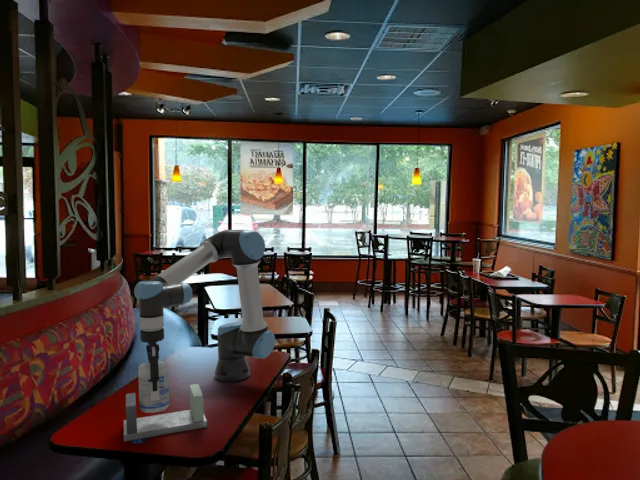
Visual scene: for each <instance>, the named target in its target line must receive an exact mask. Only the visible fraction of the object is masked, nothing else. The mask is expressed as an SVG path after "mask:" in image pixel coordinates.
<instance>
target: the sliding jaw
mask: <svg viewBox="0 0 640 480" xmlns="http://www.w3.org/2000/svg"><path fill="white" fill-rule="evenodd" d="M189 401H190V402H189V404H190V405H189V406H190V409H189V410H191V412H192V415H193V419H194V422H199V421H204V415H205V412H204V395H203V392H202V390H201V387H200V385H199V383H194V384H189Z"/></svg>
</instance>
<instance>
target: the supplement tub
mask: <svg viewBox="0 0 640 480" xmlns="http://www.w3.org/2000/svg"><path fill="white" fill-rule="evenodd" d="M158 369H159V395H160V400H155V401H151V392H150V382H148V380H150V379H151V377H150V362H149V361H148V362H143V363H141V364H139V365H138V373H137V374H138V399H139V400H138V401H139V402H138V405H139V410H140V411H141V412H142V413H146V414H155V413H159V412H162V411H165V410H166V409H167V408H168V407H169V406H170V385H169V384H170V382H169V381H170V380H169V366H168V362H166V361H162V360H160V361H159V360H158Z"/></svg>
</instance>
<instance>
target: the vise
mask: <svg viewBox="0 0 640 480" xmlns="http://www.w3.org/2000/svg"><path fill="white" fill-rule="evenodd" d="M136 396H137V395H136V392H131V393H126V394H125V415H126V417H125V419H123V442H129V441H135V440H140V439H145V438H150V437H156V436H163V435H164V436H165V435H168V434H169V435H170V434H174V433H179V432H180V433H181V432H185V431H190V430H191V431H193V430H196V429H197V430H198V429H203V428H207V427H208V420H207V418H206V415H205V414H204V421H199V422H194V419H193V415H192V412H191V409H187V410H180V411H173V412H167V413H162V414H154V415H149V416H148V415H147V416H143V417H137V402H136V401H137V399H136Z"/></svg>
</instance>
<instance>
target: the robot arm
mask: <svg viewBox="0 0 640 480" xmlns="http://www.w3.org/2000/svg"><path fill="white" fill-rule="evenodd" d="M265 251H266V241H265V240H264V238H263V236H262V234H260V232H258V231H256V230H252V229H251V230H250V229H226V230H225V229H224V230H221V231H218V232H216V233H215V234H212V235H211V236H209V237H208V238H206V239H205V240H203V241H201V242H200V244H199V246H198V247H197V248H195V249H194V250H193V251H191V252H190V253H188V254H187V255H185V256H184V257H182V258H180V260H178V261H177V262H175V263H173V264H172V265H171V266H169V267H168V268H166V269H165V270H162V271H161V272H160V273H159V274H156V276H154V277H153V278H151V279H150V280H141V281H139V282H137V284H136V285H135V287H134V289H133V290H134V291H133V293H134V296H135V298H136V299H137V300H138V308H139V309H138V310H139V311H138V312H139V319H137V323H139V329H141V330H140V331H139V337H140V342H142V343H147V345H145V346H146V348H145V350H146V355H147V360H148V362H150V377H151V379H150V380H148V382H150V392H151V401H155V400H160V395H159V369H158V361H159V360H160V352H159V351H160V345H159V344H158V342H161V341H163V340H164V339H165V328H164V327H165V317H164V309H166V308H171V307H172V308H173V307H177V306H183V305H186V304H188V303H189V302H191V300H192V299H193V288H192V287H191V285H190V284H189V283H187V282H185V281H187V280H188V279H189V278H190V277H192V276H193V275H195V274H196V273H197V272H198V271H200V270H202V269H203V268H204V267H206V266H207V265H208V264H210V263H215V262H217V261H218V260H220V259H221V260H222V259H225V258H228V259H231V263H232V266H234V268H236V274H237V282H238V283H237V284H238V291H239V300H240V309H241V317H242V321H236V322H229V323H225V324H221V325H219V326H218V328H217V335H216V336H217V352H218V353H217V355H218V358H217V359H218V360H217V362H216V363H217V364H216V367H215V370H214V378H215V379H216V380H217V381H220V382H237V381H241V380H245V379H248V378H249V377H250V375H251V371H250V367H249V364H248V361H247V358H246V357H251V358H254V359H266V358H267V357H269V355H270V354H271V353H272V351H273V350H274V347H275V345H276V337H275V334H274V332H272V331H271V330H269V325H268V323H267V322H266V321H265V320H264V315H263V314H264V313H263V304H262V295H261V294H262V293H261V285H260V277H259V269H258V265H260V263H261V262H262V261H261V258H263V257H264V254H265Z"/></svg>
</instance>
